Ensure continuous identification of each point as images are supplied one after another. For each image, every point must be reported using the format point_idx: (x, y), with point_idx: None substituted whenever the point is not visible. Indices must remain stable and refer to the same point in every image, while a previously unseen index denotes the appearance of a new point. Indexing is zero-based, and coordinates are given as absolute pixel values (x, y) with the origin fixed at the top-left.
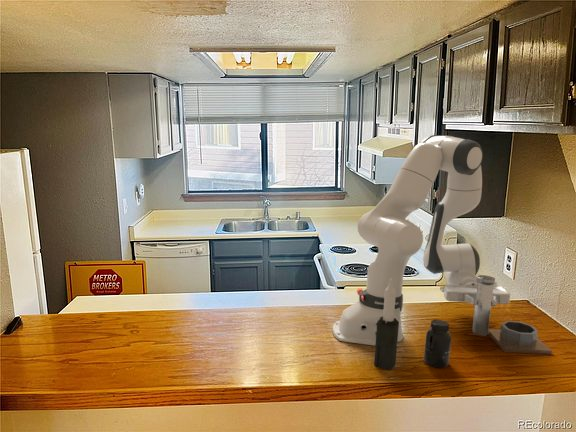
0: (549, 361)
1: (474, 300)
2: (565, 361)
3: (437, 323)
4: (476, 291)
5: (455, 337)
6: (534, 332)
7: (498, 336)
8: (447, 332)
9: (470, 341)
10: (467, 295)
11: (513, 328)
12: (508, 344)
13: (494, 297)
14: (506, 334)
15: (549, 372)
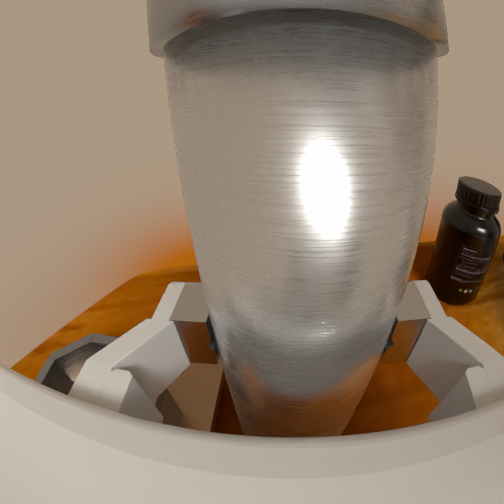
0: (129, 316)
1: (408, 282)
2: (91, 315)
3: (483, 182)
4: (363, 478)
5: None
6: (75, 343)
7: None
8: (456, 202)
9: None
10: (487, 358)
11: None
12: (188, 384)
13: (121, 346)
14: (170, 395)
15: (178, 277)
